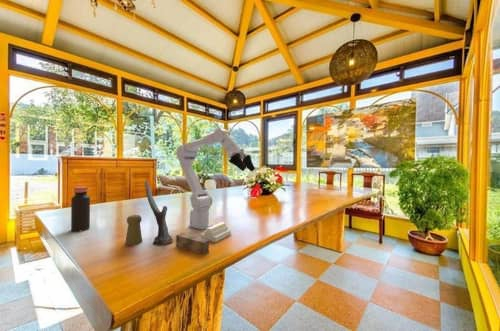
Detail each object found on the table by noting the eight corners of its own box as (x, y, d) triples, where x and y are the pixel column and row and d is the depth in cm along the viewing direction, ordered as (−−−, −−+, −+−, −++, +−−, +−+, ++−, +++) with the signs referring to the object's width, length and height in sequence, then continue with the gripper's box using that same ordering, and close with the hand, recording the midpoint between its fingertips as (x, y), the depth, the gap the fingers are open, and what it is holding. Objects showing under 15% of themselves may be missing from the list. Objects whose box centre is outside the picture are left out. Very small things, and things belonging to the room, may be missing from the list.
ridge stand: (201, 238, 89) (201, 227, 89) (216, 231, 99) (217, 220, 99) (215, 242, 85) (216, 230, 85) (230, 234, 95) (230, 223, 95)
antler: (175, 238, 88) (176, 180, 87) (168, 246, 80) (169, 182, 80) (147, 238, 88) (148, 180, 87) (138, 246, 80) (139, 182, 79)
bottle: (67, 230, 95) (67, 187, 94) (84, 226, 101) (84, 185, 101) (76, 232, 92) (76, 188, 92) (93, 228, 98) (93, 186, 98)
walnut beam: (176, 246, 81) (176, 235, 81) (181, 243, 84) (182, 232, 83) (203, 255, 74) (203, 242, 74) (208, 251, 77) (209, 240, 77)
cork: (124, 246, 79) (124, 218, 79) (125, 240, 85) (126, 214, 84) (142, 243, 82) (142, 216, 82) (142, 238, 87) (142, 213, 87)
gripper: (228, 139, 87) (246, 162, 82) (245, 144, 99) (262, 164, 94) (218, 151, 89) (235, 174, 84) (236, 154, 102) (252, 174, 97)
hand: (248, 169), depth 89 cm, fingers open, 7 cm apart
